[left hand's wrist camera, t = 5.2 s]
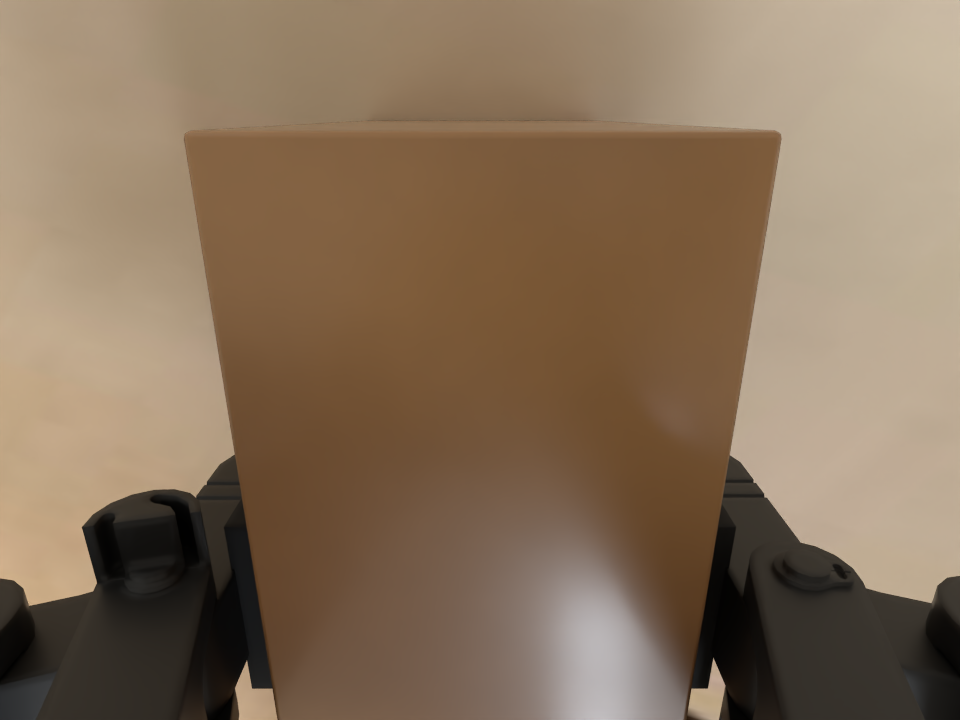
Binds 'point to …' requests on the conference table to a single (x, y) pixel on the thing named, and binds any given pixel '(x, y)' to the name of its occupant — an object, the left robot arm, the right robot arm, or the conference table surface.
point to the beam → (482, 403)
